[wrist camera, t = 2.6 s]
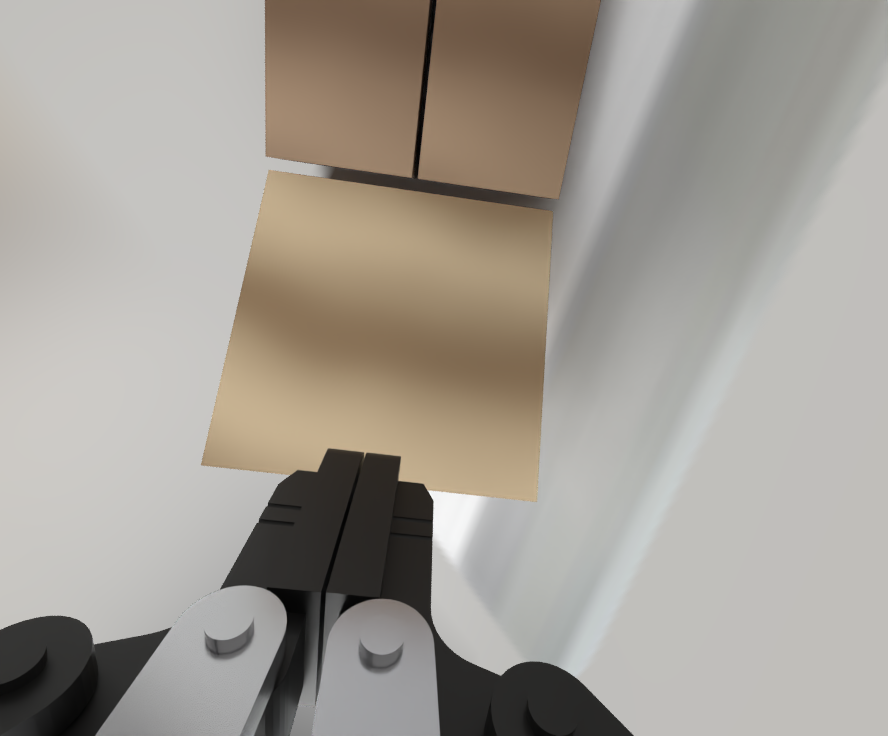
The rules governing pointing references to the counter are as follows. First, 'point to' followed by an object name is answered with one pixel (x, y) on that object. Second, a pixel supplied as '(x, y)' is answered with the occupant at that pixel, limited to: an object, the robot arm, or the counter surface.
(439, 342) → the oak plank
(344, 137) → the brown flat square block
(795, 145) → the counter surface
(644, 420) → the counter surface
